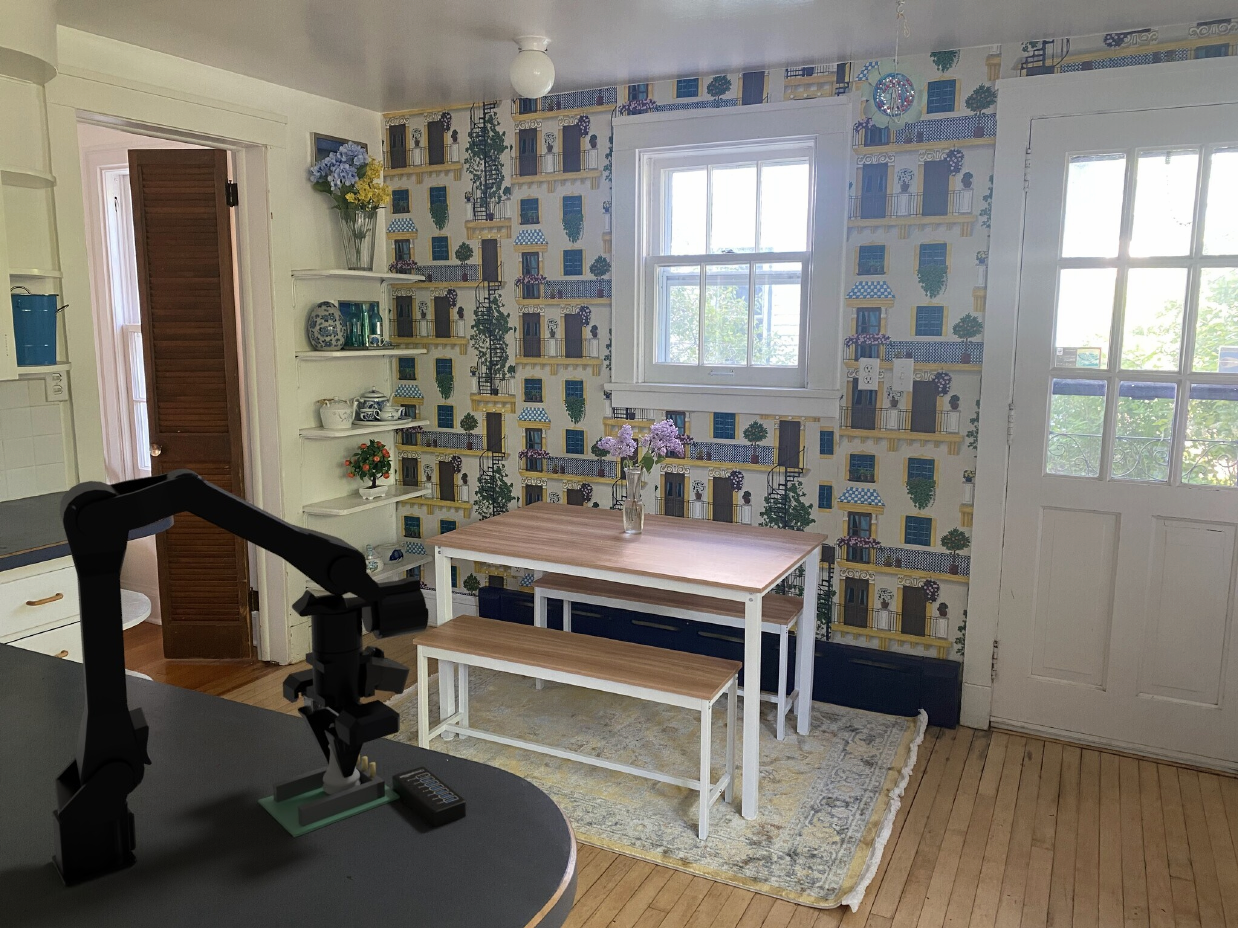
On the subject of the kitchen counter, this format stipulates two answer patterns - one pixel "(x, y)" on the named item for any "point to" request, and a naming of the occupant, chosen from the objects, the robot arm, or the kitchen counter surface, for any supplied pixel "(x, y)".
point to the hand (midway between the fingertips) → (340, 770)
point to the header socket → (324, 799)
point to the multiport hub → (429, 796)
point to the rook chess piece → (338, 776)
